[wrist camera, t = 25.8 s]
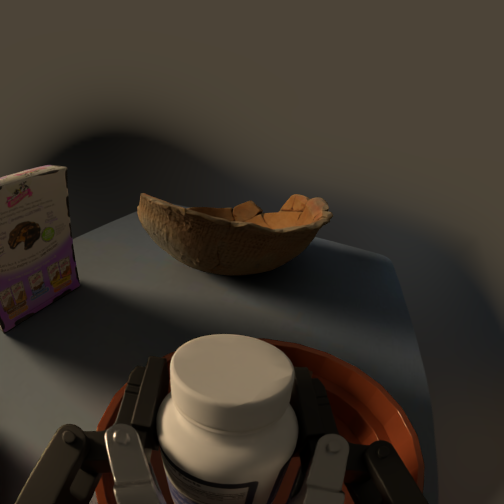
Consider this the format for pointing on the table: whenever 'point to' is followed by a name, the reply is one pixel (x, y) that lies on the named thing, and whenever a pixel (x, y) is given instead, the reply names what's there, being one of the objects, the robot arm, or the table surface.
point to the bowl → (343, 408)
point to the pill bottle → (227, 421)
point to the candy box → (34, 243)
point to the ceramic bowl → (234, 233)
